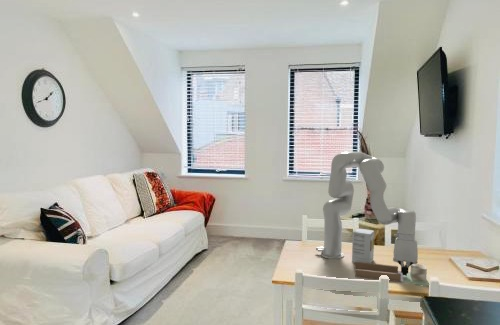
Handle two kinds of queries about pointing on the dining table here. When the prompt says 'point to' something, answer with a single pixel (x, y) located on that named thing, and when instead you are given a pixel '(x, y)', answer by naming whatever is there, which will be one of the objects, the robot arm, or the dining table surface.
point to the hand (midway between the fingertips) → (404, 274)
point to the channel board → (383, 273)
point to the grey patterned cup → (418, 272)
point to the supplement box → (363, 245)
